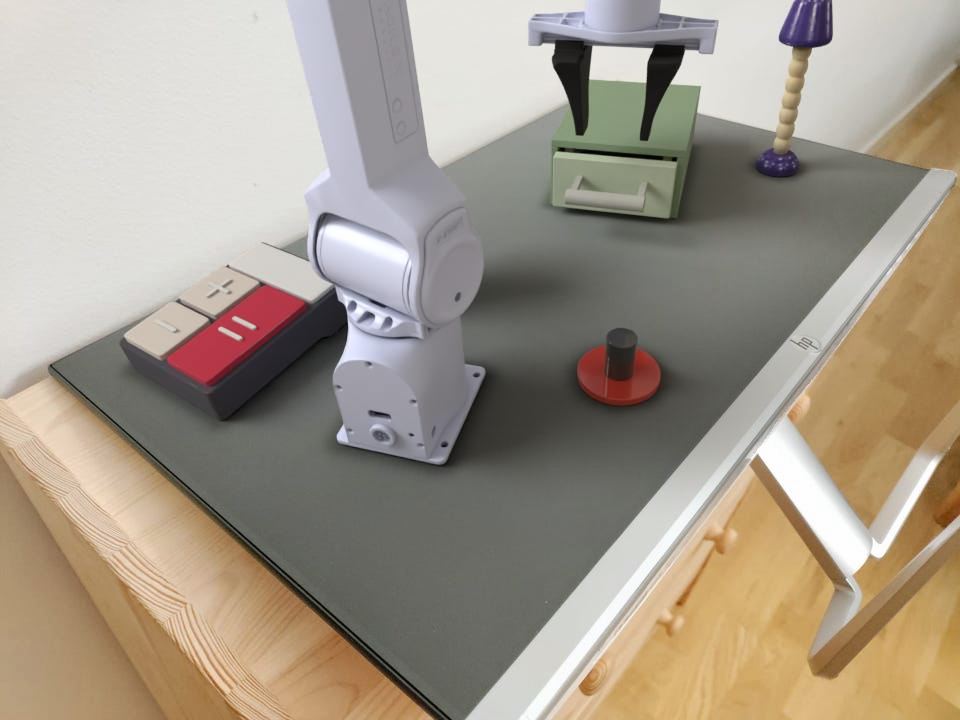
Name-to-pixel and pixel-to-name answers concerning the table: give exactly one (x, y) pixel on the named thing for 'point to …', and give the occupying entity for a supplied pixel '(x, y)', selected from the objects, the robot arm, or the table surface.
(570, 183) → the drawer
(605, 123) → the cabinet
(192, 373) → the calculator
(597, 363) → the lid
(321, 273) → the robot arm
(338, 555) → the table surface
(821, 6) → the toy lamp
